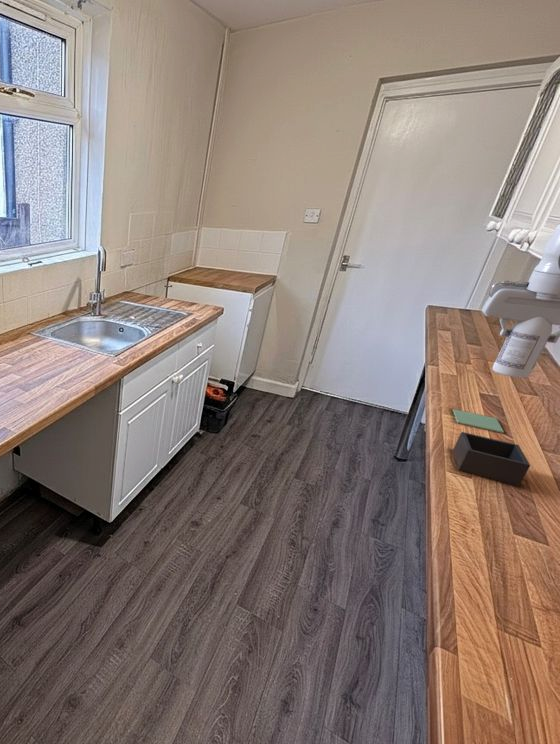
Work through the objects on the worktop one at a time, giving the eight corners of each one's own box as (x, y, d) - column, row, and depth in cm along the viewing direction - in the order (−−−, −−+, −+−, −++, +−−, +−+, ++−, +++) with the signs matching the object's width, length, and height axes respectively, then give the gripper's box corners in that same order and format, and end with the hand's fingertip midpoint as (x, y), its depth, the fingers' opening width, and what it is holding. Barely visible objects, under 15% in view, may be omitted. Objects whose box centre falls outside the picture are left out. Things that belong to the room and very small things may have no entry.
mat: (495, 419, 127) (496, 418, 126) (503, 433, 119) (504, 432, 119) (452, 410, 132) (453, 408, 132) (457, 422, 125) (457, 421, 124)
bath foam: (510, 368, 112) (545, 296, 104) (536, 379, 106) (577, 302, 98) (483, 368, 112) (517, 295, 104) (509, 378, 106) (547, 302, 98)
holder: (507, 464, 105) (518, 444, 103) (518, 486, 97) (530, 465, 95) (452, 450, 111) (461, 431, 109) (458, 470, 103) (468, 450, 101)
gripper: (497, 281, 103) (474, 334, 108) (625, 292, 92) (591, 350, 98) (492, 277, 107) (469, 328, 113) (612, 288, 97) (581, 343, 102)
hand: (526, 338), depth 105 cm, fingers closed on bath foam, 7 cm apart
